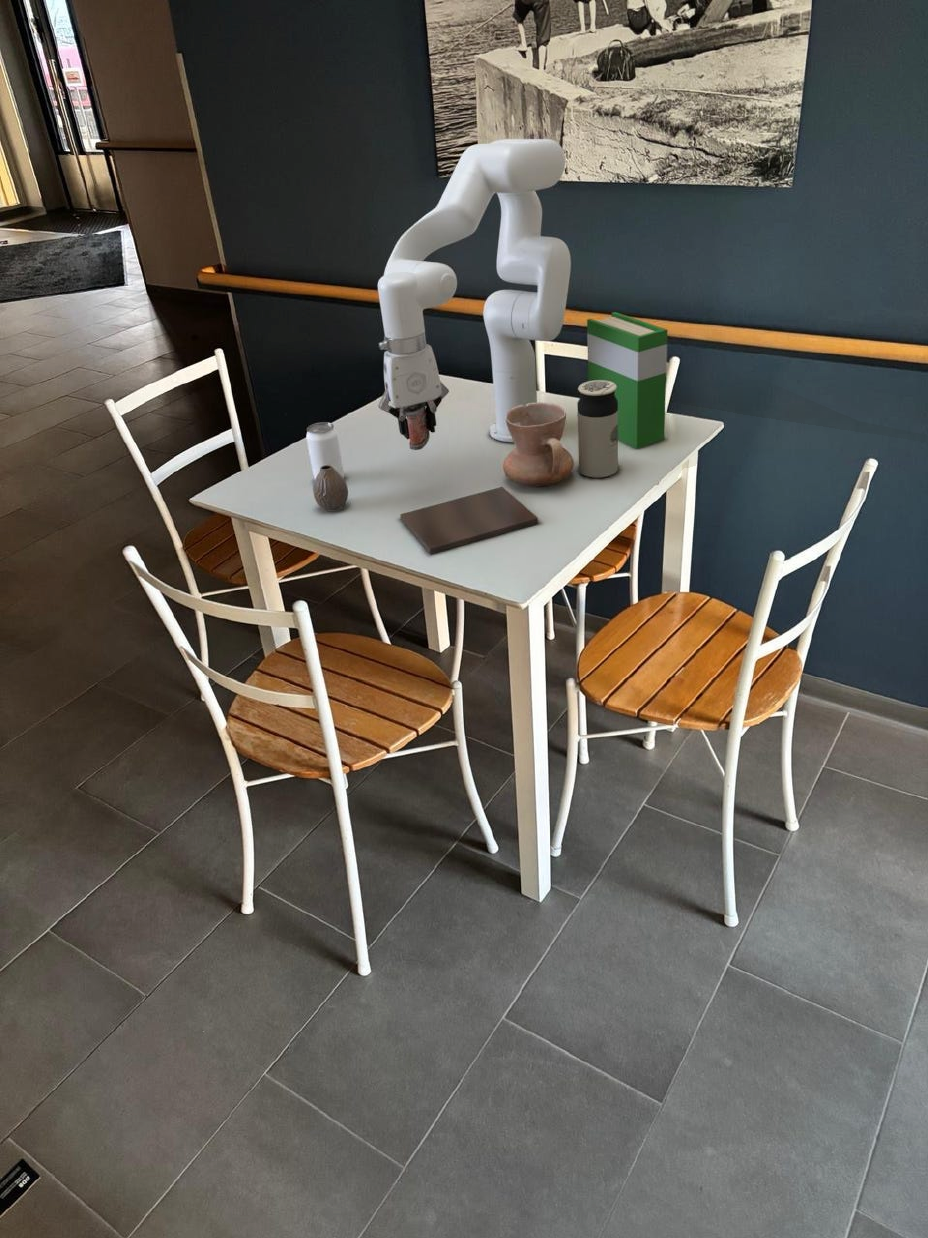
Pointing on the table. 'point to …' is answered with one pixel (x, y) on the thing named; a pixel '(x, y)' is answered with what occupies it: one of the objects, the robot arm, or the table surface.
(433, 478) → the table surface
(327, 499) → the vase
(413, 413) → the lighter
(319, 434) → the can
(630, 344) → the hardback book
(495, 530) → the walnut board
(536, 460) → the ceramic jug
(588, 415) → the travel mug
